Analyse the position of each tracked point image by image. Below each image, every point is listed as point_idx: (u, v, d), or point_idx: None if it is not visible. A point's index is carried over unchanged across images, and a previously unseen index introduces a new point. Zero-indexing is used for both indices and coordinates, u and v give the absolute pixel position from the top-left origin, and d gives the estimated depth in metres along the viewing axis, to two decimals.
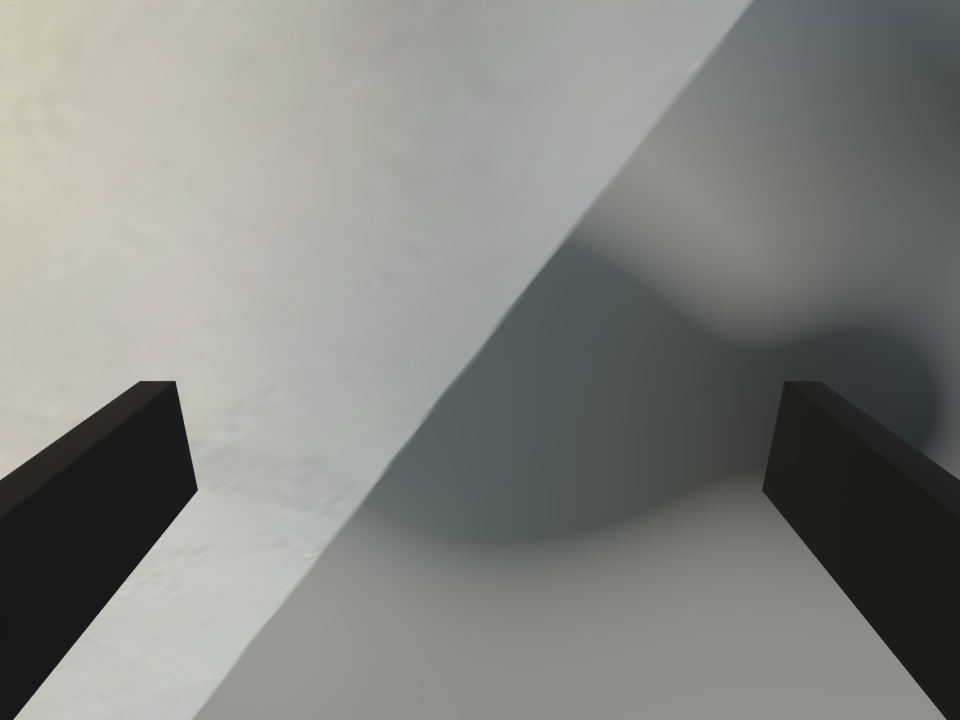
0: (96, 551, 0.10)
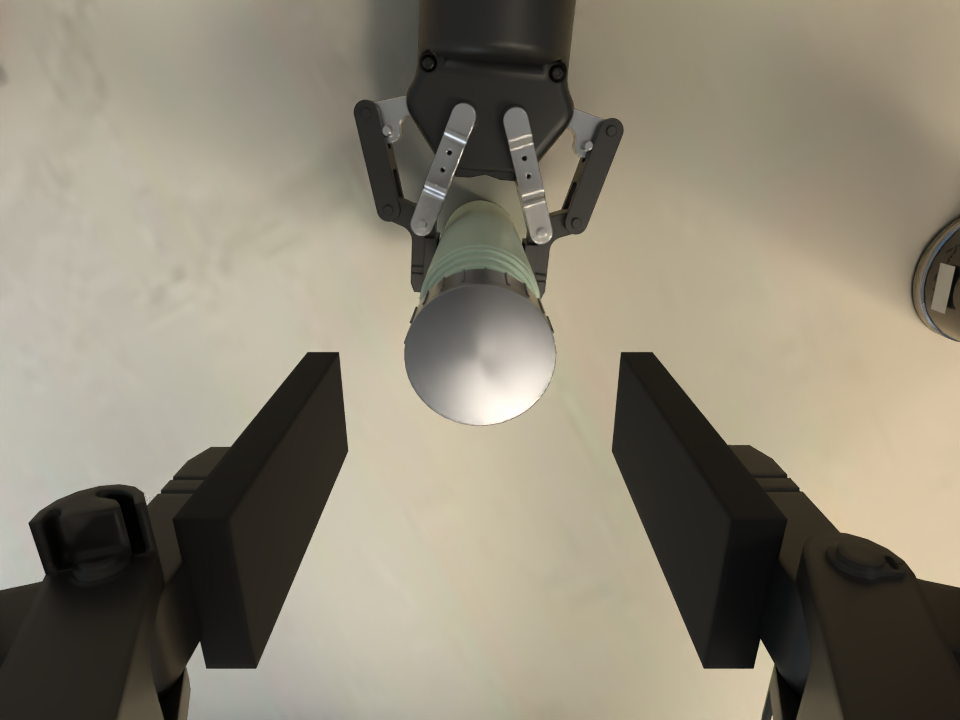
0: (307, 491, 0.11)
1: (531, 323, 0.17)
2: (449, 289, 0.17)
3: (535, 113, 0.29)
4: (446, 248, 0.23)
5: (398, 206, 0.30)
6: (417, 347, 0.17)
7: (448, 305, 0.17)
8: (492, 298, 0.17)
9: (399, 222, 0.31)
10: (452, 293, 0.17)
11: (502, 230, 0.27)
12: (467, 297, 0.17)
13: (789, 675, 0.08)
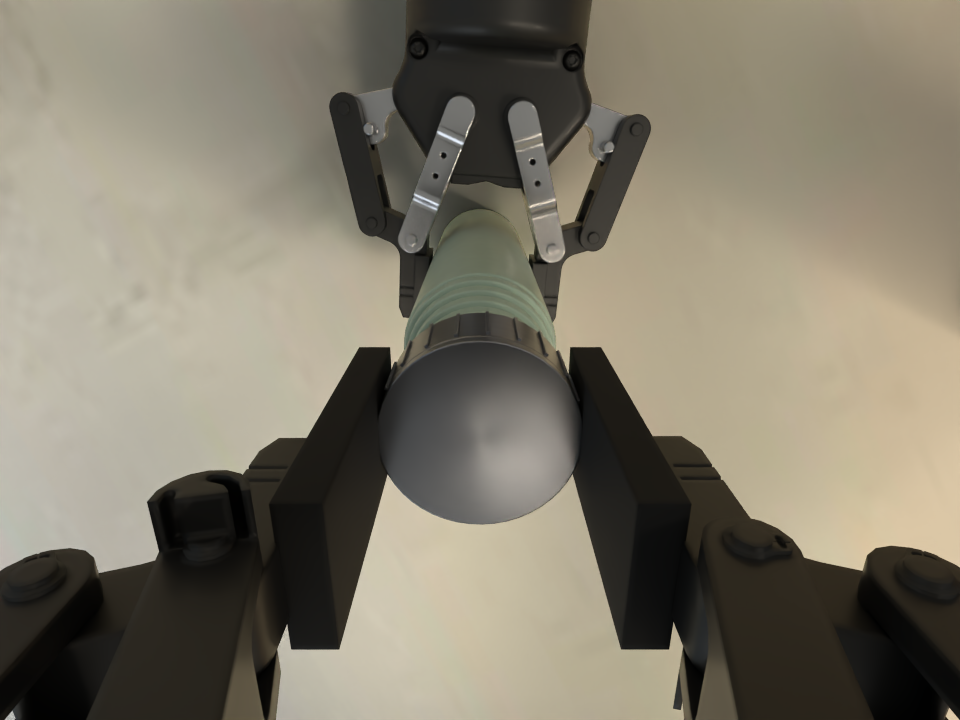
0: (370, 481, 0.12)
1: (550, 393, 0.12)
2: (437, 347, 0.12)
3: (546, 108, 0.24)
4: (438, 275, 0.19)
5: (383, 218, 0.26)
6: (394, 424, 0.12)
7: (436, 369, 0.12)
8: (497, 360, 0.12)
9: (385, 237, 0.26)
10: (441, 353, 0.12)
11: (507, 249, 0.22)
12: (462, 358, 0.12)
13: (695, 658, 0.08)
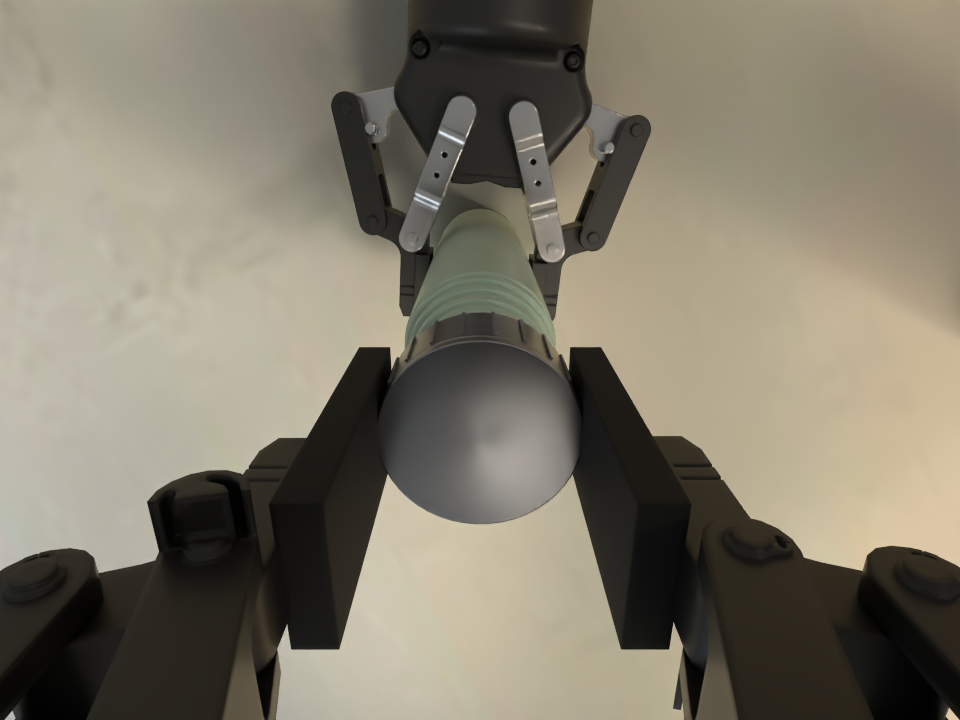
0: (370, 481, 0.12)
1: (403, 403, 0.12)
2: (416, 502, 0.13)
3: (546, 108, 0.24)
4: (439, 273, 0.19)
5: (384, 217, 0.26)
6: (503, 507, 0.13)
7: (434, 498, 0.13)
8: (398, 458, 0.13)
9: (385, 236, 0.26)
10: (418, 500, 0.13)
11: (507, 248, 0.22)
12: (413, 484, 0.13)
13: (695, 657, 0.08)
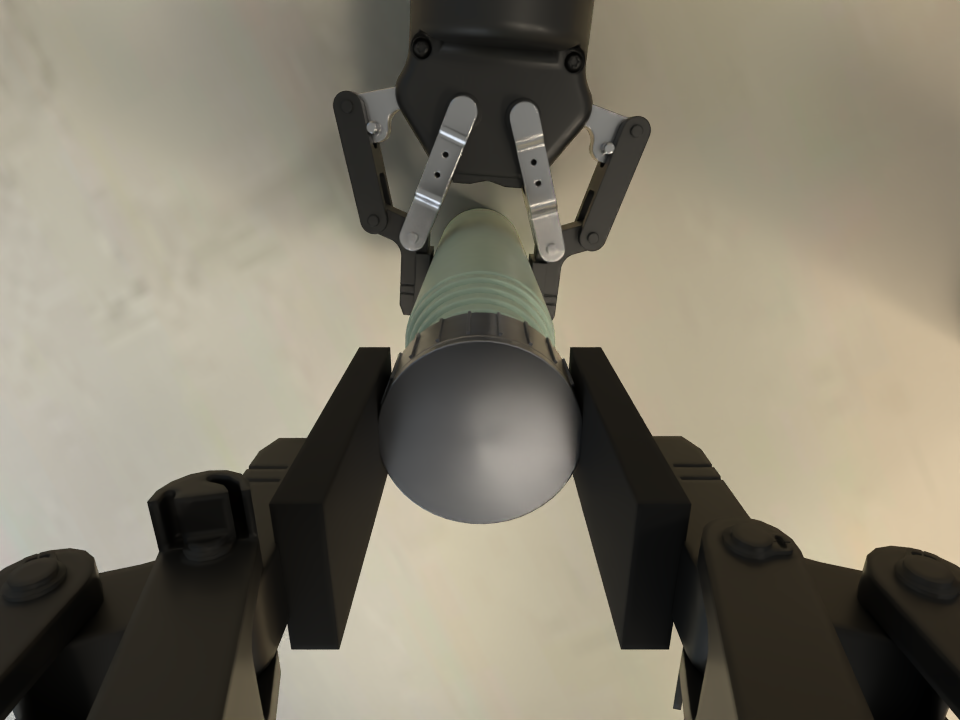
0: (370, 481, 0.12)
1: (479, 509, 0.13)
2: (578, 457, 0.13)
3: (547, 109, 0.24)
4: (439, 272, 0.19)
5: (385, 216, 0.26)
6: (545, 383, 0.12)
7: (564, 447, 0.13)
8: (536, 492, 0.13)
9: (386, 235, 0.27)
10: (573, 460, 0.13)
11: (507, 248, 0.23)
12: (557, 471, 0.13)
13: (695, 657, 0.08)
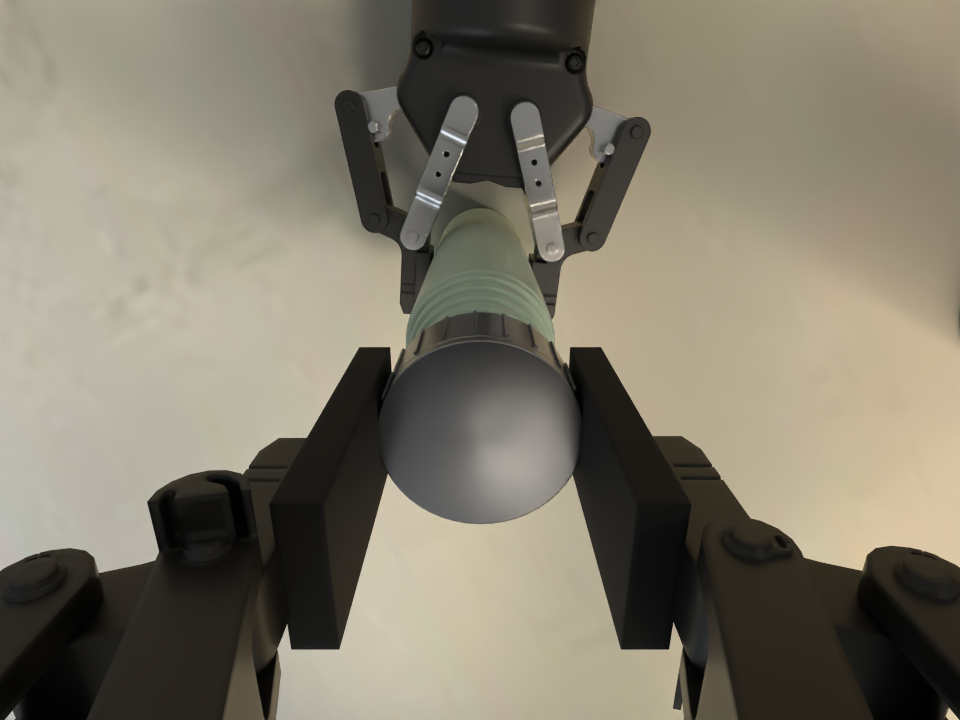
0: (370, 481, 0.12)
1: (558, 404, 0.12)
2: (455, 341, 0.12)
3: (548, 110, 0.24)
4: (440, 271, 0.19)
5: (386, 215, 0.26)
6: (397, 411, 0.12)
7: (450, 363, 0.12)
8: (512, 363, 0.12)
9: (387, 234, 0.27)
10: (458, 348, 0.12)
11: (507, 247, 0.23)
12: (478, 356, 0.12)
13: (695, 658, 0.08)
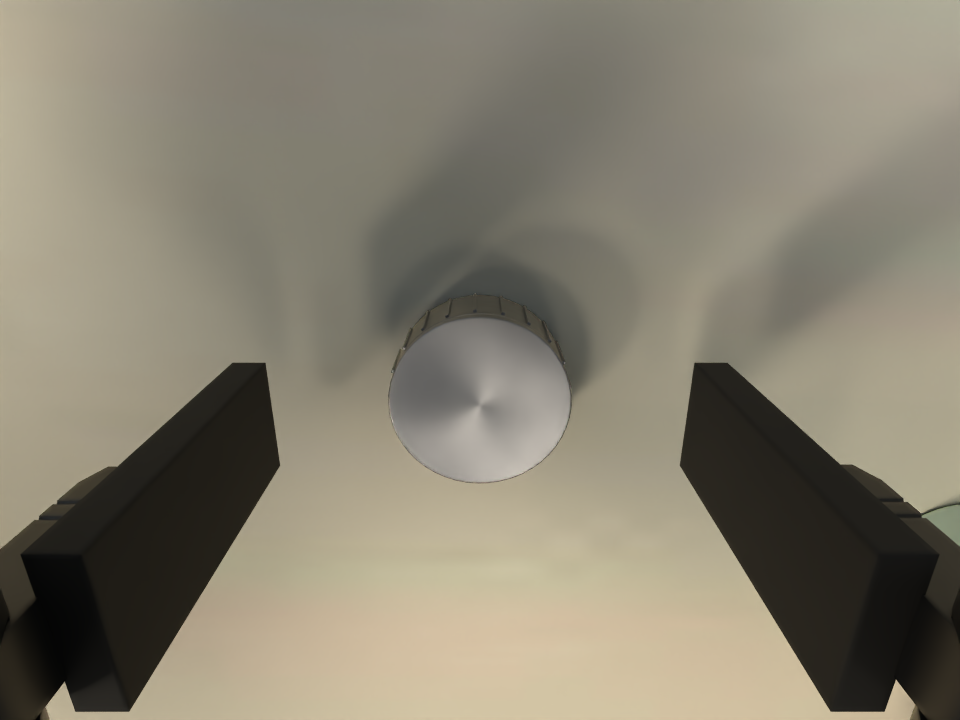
0: (214, 512, 0.11)
1: (548, 374, 0.14)
2: (458, 318, 0.14)
3: None
4: None
5: None
6: (407, 380, 0.14)
7: (453, 337, 0.14)
8: (508, 338, 0.14)
9: None
10: (461, 324, 0.14)
11: None
12: (478, 332, 0.14)
13: (936, 717, 0.07)
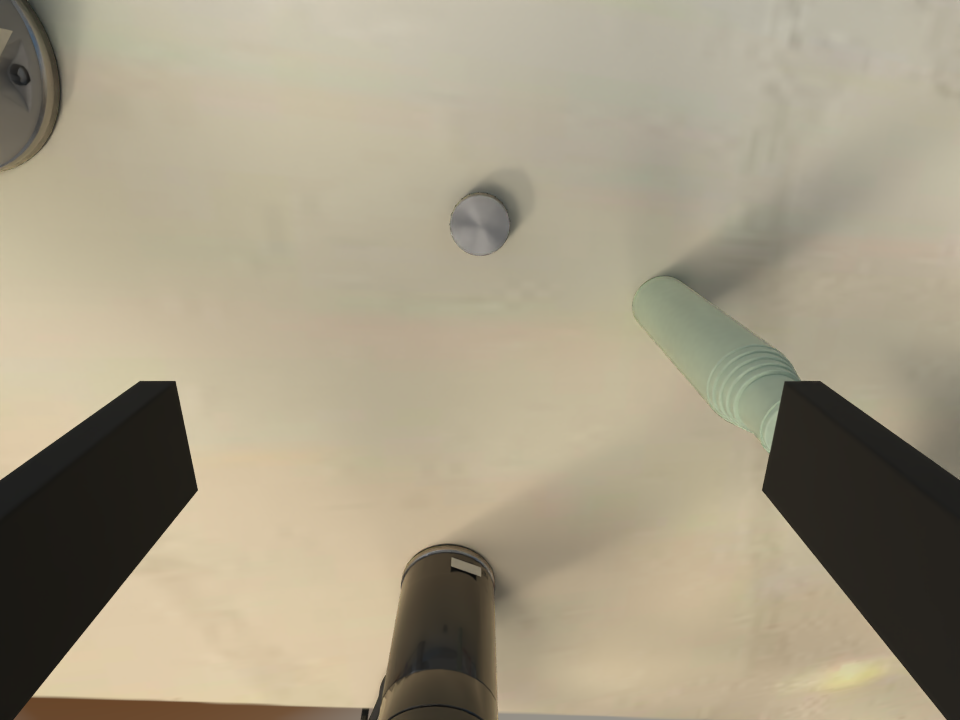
0: (96, 551, 0.10)
1: (502, 215, 0.43)
2: (473, 195, 0.43)
3: None
4: None
5: None
6: (456, 217, 0.44)
7: (471, 202, 0.43)
8: (488, 202, 0.43)
9: None
10: (474, 197, 0.43)
11: None
12: (479, 200, 0.43)
13: None
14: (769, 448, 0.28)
